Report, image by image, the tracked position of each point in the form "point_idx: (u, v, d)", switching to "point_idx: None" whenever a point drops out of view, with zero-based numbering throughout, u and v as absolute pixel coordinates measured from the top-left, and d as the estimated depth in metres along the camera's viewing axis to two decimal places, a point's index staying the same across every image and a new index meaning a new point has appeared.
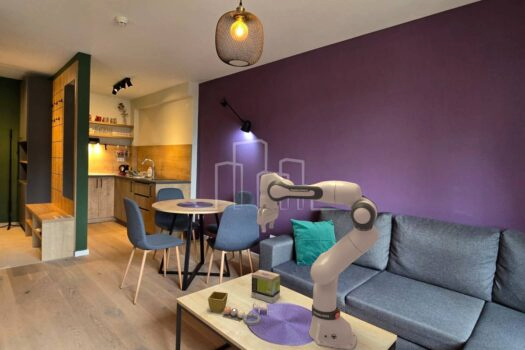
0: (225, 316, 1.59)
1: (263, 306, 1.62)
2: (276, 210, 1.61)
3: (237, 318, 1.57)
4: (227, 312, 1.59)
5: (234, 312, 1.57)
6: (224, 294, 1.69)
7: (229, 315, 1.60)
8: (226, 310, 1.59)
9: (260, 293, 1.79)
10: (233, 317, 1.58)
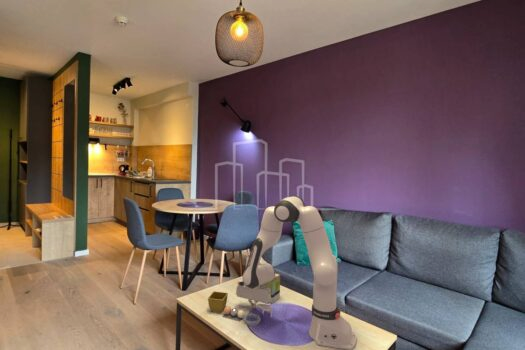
0: (225, 316, 1.59)
1: (267, 307, 1.61)
2: None
3: (237, 318, 1.57)
4: (227, 312, 1.59)
5: (234, 312, 1.57)
6: (224, 294, 1.69)
7: (229, 315, 1.60)
8: (226, 310, 1.59)
9: None
10: (233, 317, 1.58)
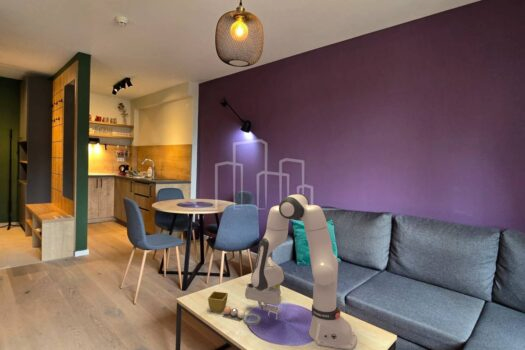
0: (225, 316, 1.59)
1: (273, 309, 1.59)
2: None
3: (237, 318, 1.57)
4: (227, 312, 1.59)
5: (234, 312, 1.57)
6: (224, 294, 1.69)
7: (229, 315, 1.60)
8: (226, 310, 1.59)
9: None
10: (233, 317, 1.58)
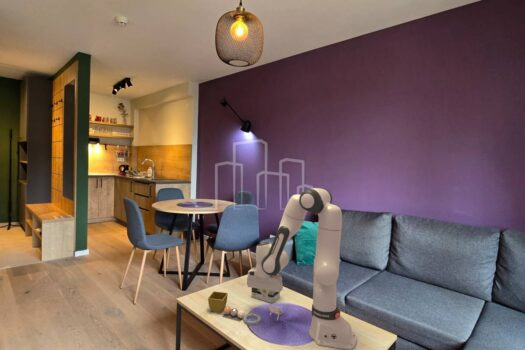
0: (225, 316, 1.59)
1: (275, 310, 1.58)
2: None
3: (237, 318, 1.57)
4: (227, 312, 1.59)
5: (234, 312, 1.57)
6: (224, 294, 1.69)
7: (229, 315, 1.60)
8: (226, 310, 1.59)
9: (260, 293, 1.79)
10: (233, 317, 1.58)
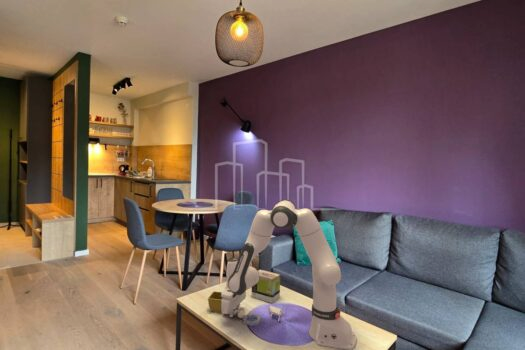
0: (225, 316, 1.59)
1: (276, 311, 1.57)
2: None
3: (237, 318, 1.57)
4: None
5: (234, 312, 1.57)
6: None
7: (229, 315, 1.60)
8: None
9: (260, 293, 1.79)
10: (233, 317, 1.58)
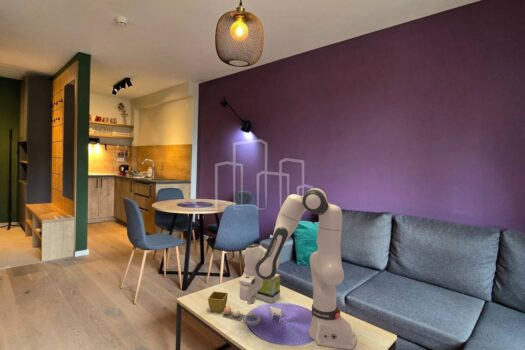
0: (225, 316, 1.59)
1: (277, 312, 1.57)
2: None
3: (237, 318, 1.57)
4: (227, 312, 1.59)
5: (252, 299, 1.53)
6: (224, 294, 1.69)
7: (229, 315, 1.60)
8: (226, 310, 1.59)
9: (260, 293, 1.79)
10: (233, 317, 1.58)
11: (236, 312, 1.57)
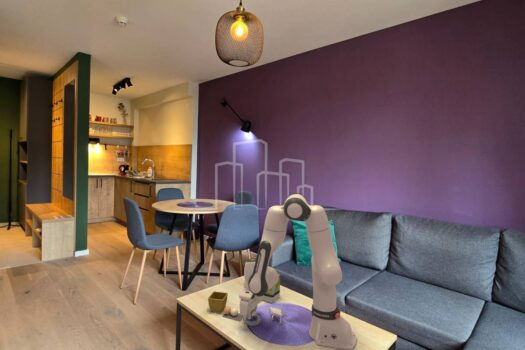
0: (225, 316, 1.59)
1: (277, 312, 1.56)
2: None
3: (237, 318, 1.57)
4: (227, 312, 1.59)
5: (252, 313, 1.53)
6: (224, 294, 1.69)
7: (229, 315, 1.60)
8: (226, 310, 1.59)
9: None
10: (233, 317, 1.58)
11: (233, 310, 1.58)
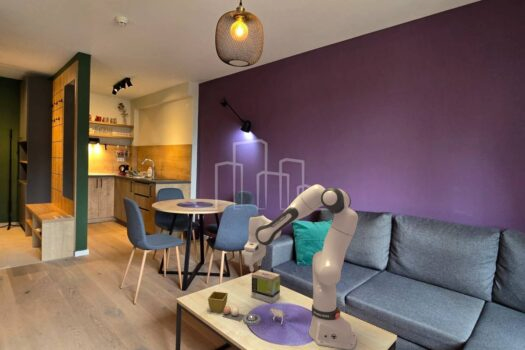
0: (225, 316, 1.59)
1: (278, 313, 1.55)
2: None
3: (237, 318, 1.57)
4: (227, 311, 1.59)
5: (251, 319, 1.52)
6: (224, 294, 1.69)
7: (229, 315, 1.60)
8: (226, 309, 1.60)
9: (260, 293, 1.79)
10: (233, 317, 1.58)
11: (234, 309, 1.58)
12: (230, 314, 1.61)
